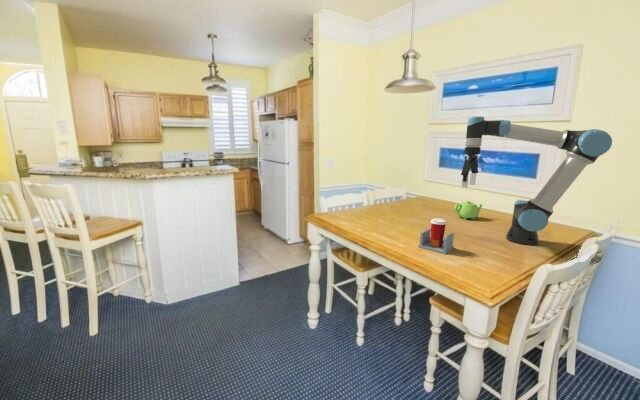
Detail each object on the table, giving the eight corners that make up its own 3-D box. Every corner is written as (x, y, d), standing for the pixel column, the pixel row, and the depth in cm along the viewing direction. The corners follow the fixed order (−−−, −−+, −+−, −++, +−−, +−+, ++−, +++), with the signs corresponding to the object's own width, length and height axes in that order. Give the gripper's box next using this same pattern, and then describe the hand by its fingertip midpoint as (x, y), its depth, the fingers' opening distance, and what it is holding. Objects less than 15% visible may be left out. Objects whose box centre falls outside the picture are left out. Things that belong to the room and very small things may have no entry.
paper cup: (440, 243, 160) (442, 218, 157) (446, 248, 152) (449, 222, 150) (425, 243, 160) (428, 218, 157) (431, 248, 152) (434, 222, 149)
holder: (453, 247, 156) (455, 233, 155) (445, 254, 147) (446, 238, 146) (427, 241, 165) (428, 227, 164) (418, 247, 157) (419, 232, 155)
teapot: (475, 215, 222) (477, 199, 220) (486, 220, 209) (488, 203, 207) (449, 215, 221) (450, 199, 219) (458, 220, 208) (460, 203, 206)
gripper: (472, 146, 170) (468, 183, 174) (457, 146, 152) (453, 188, 156) (486, 146, 165) (482, 184, 169) (473, 147, 147) (468, 189, 151)
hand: (468, 186), depth 163 cm, fingers open, 13 cm apart
